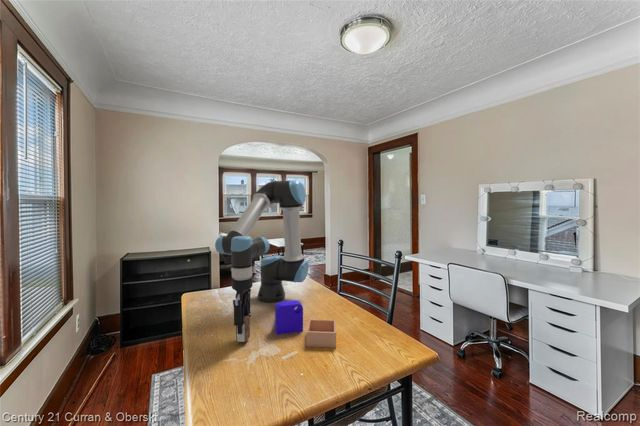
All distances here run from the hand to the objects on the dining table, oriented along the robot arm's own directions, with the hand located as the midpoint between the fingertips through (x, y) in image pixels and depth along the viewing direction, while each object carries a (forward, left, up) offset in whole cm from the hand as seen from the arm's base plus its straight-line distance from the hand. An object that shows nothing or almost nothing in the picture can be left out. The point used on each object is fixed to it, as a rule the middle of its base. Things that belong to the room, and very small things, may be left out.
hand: (243, 337), depth 103 cm
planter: (-4, +30, -2) cm, 30 cm away
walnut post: (0, 0, 0) cm, 0 cm away
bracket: (-17, +14, -2) cm, 21 cm away
